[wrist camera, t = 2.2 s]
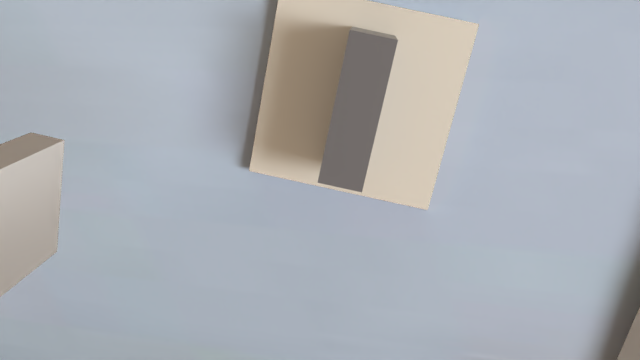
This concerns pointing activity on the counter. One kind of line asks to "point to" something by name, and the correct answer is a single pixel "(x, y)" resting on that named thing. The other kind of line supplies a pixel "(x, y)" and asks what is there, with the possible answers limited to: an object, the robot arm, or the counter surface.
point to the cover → (360, 97)
